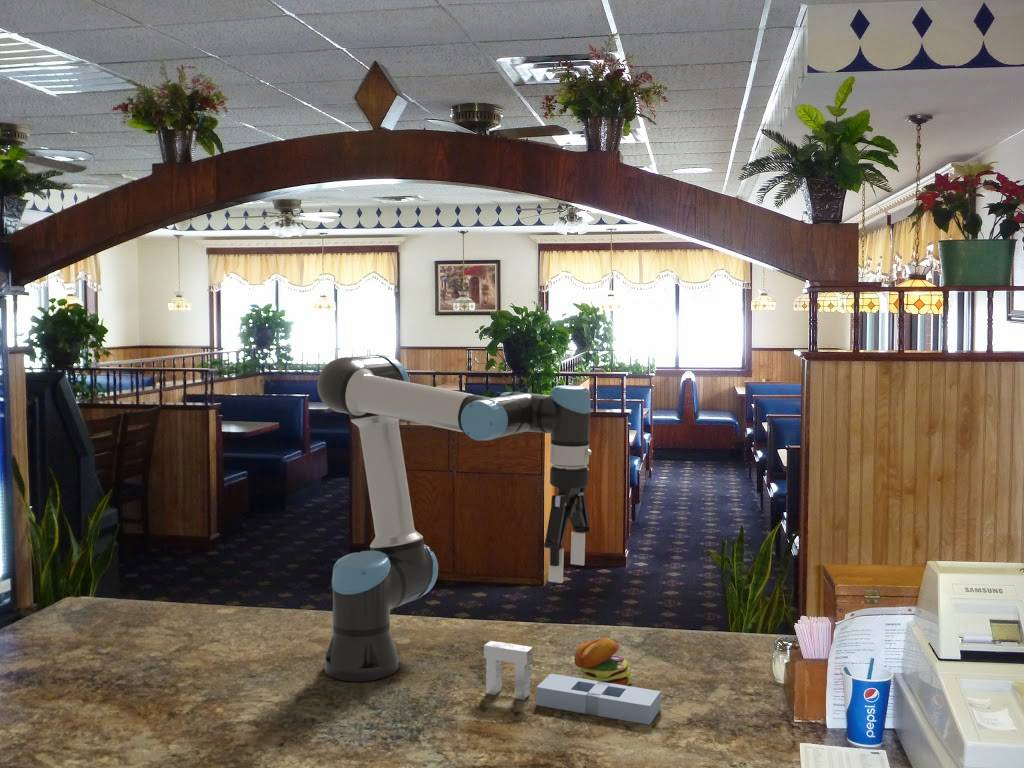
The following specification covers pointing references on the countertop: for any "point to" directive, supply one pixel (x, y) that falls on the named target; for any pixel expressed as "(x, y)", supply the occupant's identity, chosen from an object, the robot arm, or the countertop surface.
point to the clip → (508, 653)
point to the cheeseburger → (602, 662)
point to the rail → (599, 698)
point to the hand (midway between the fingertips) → (566, 572)
